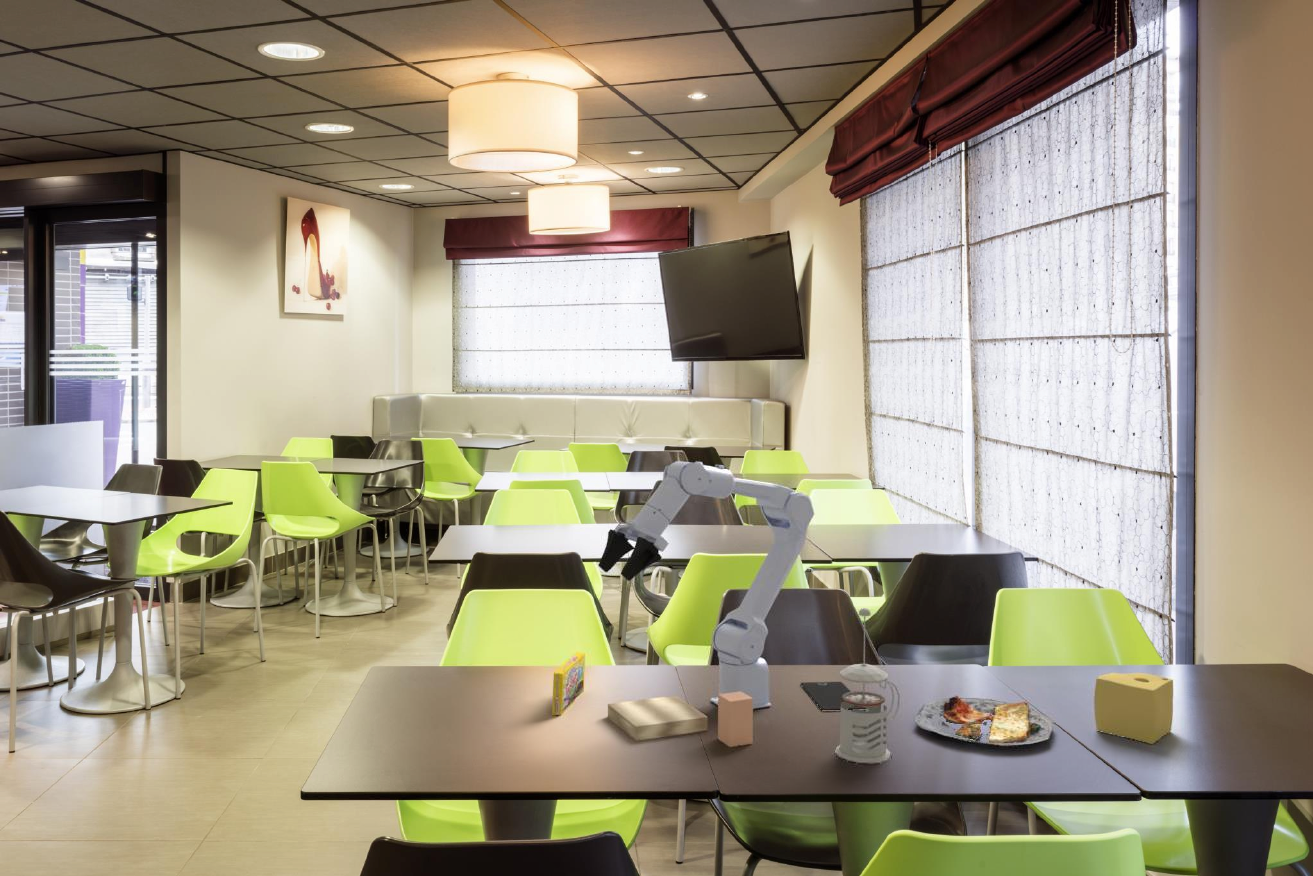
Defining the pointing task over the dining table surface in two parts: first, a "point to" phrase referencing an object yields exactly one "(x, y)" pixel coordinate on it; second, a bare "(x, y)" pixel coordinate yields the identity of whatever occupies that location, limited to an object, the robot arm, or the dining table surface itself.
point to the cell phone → (828, 694)
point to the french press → (864, 714)
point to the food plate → (1008, 722)
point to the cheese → (1134, 705)
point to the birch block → (657, 717)
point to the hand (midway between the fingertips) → (613, 573)
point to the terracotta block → (735, 719)
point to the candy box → (568, 683)
